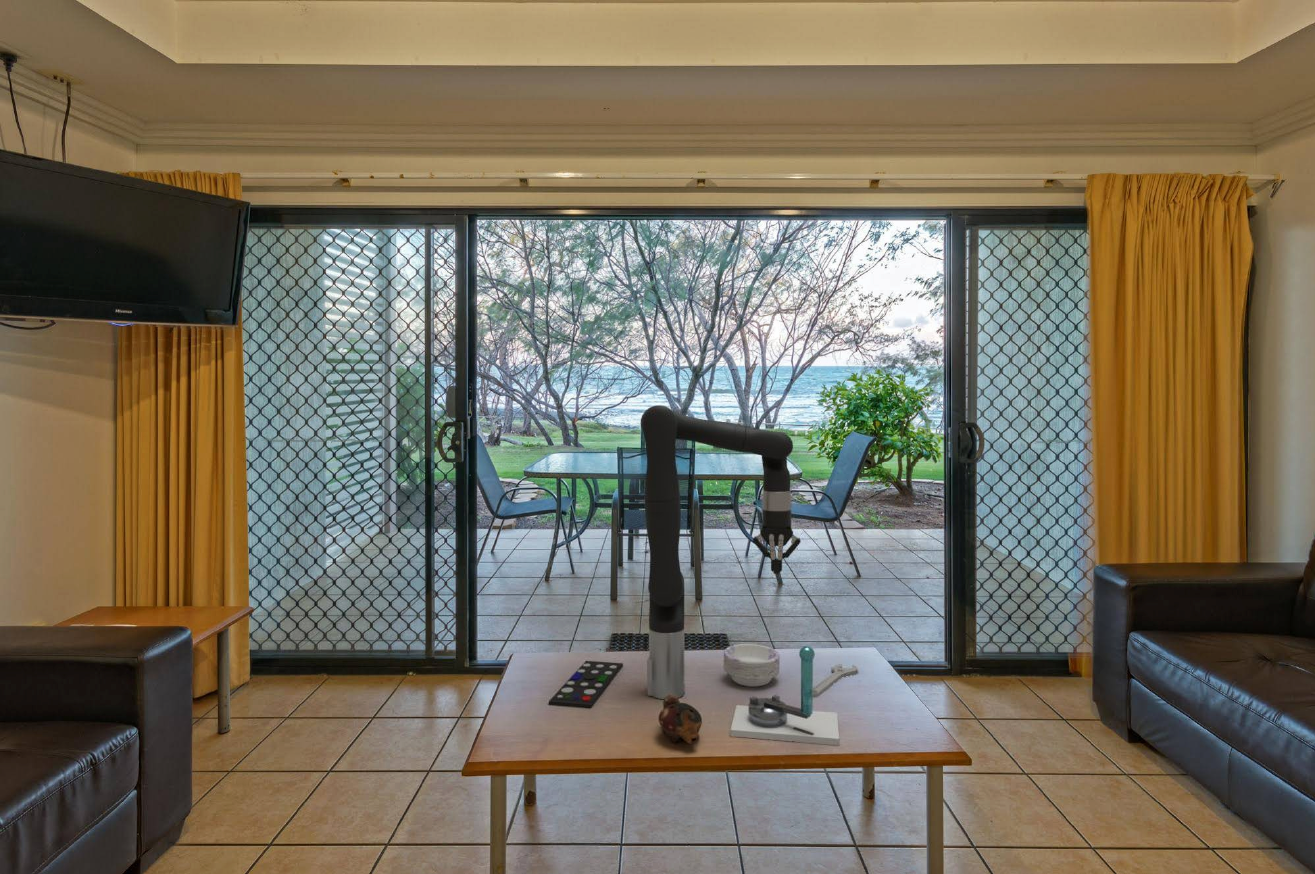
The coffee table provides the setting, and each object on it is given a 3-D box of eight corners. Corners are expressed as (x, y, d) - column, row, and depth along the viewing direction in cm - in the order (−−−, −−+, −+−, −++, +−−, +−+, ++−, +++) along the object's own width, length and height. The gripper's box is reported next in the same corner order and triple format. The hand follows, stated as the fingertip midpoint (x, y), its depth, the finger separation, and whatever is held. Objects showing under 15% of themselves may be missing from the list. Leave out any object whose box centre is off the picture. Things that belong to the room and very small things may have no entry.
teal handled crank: (741, 719, 172) (741, 639, 171) (760, 707, 179) (760, 629, 178) (804, 738, 162) (804, 653, 161) (822, 724, 169) (822, 642, 168)
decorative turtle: (681, 720, 176) (684, 688, 176) (714, 751, 163) (717, 716, 162) (645, 727, 172) (647, 693, 171) (676, 758, 158) (679, 723, 158)
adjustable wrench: (816, 700, 189) (816, 693, 189) (794, 694, 193) (794, 687, 193) (860, 672, 208) (860, 666, 208) (840, 667, 212) (840, 661, 212)
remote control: (548, 707, 186) (548, 699, 186) (586, 665, 216) (586, 658, 216) (590, 710, 184) (590, 702, 184) (623, 668, 213) (622, 661, 213)
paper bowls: (790, 686, 198) (790, 656, 197) (740, 694, 192) (740, 664, 191) (761, 667, 212) (761, 640, 211) (713, 675, 206) (713, 647, 205)
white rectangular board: (730, 736, 168) (730, 728, 168) (736, 711, 181) (736, 704, 181) (839, 745, 163) (839, 737, 163) (836, 718, 177) (836, 711, 177)
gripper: (750, 509, 191) (750, 575, 192) (802, 510, 188) (802, 577, 189) (752, 505, 198) (752, 569, 199) (802, 506, 195) (802, 571, 196)
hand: (776, 573), depth 194 cm, fingers closed
